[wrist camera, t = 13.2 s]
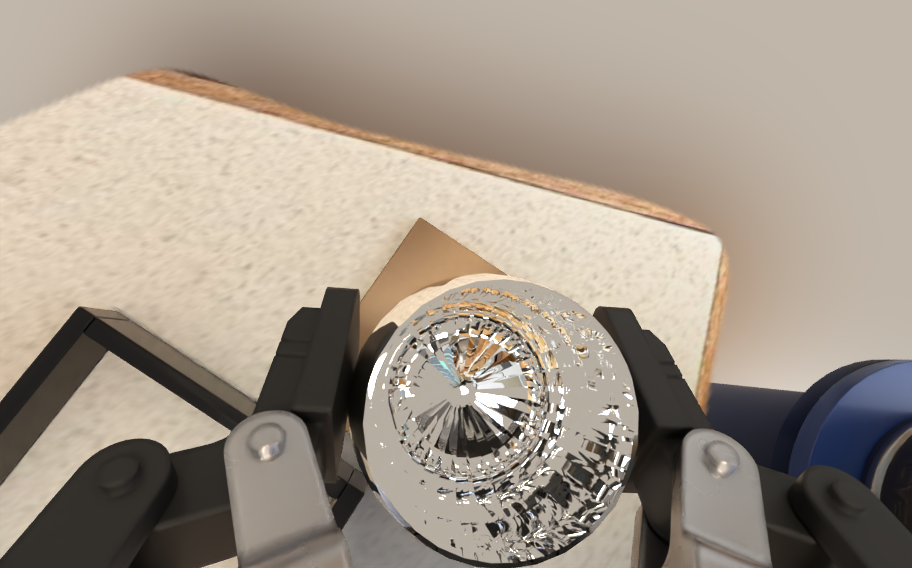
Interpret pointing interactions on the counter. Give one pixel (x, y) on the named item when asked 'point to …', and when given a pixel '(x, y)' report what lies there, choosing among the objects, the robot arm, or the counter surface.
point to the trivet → (416, 272)
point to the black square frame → (95, 331)
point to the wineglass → (493, 419)
